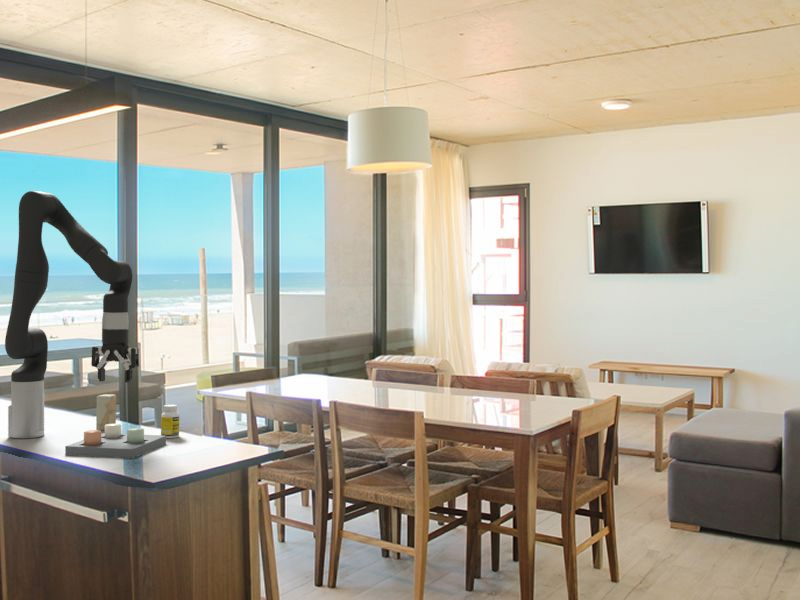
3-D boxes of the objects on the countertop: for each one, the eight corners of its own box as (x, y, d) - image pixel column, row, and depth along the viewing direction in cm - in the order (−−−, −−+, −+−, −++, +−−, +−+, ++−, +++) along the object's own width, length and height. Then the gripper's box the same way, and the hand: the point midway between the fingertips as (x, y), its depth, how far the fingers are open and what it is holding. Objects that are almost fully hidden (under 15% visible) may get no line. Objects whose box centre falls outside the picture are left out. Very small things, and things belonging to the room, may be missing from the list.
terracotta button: (80, 447, 224) (80, 432, 224) (89, 443, 228) (89, 429, 228) (95, 447, 223) (95, 433, 223) (104, 444, 227) (104, 430, 227)
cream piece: (101, 439, 235) (101, 426, 234) (109, 436, 239) (109, 423, 239) (116, 440, 234) (116, 426, 234) (124, 437, 238) (124, 423, 238)
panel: (65, 454, 222) (65, 446, 222) (103, 440, 242) (103, 432, 242) (132, 458, 219) (132, 449, 219) (166, 443, 239) (166, 435, 238)
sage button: (123, 444, 227) (123, 430, 227) (131, 441, 232) (132, 427, 232) (139, 445, 227) (139, 431, 227) (146, 442, 231) (146, 428, 231)
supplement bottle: (174, 439, 246) (174, 407, 246) (157, 438, 247) (157, 406, 247) (182, 435, 251) (182, 404, 251) (166, 435, 252) (166, 403, 252)
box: (108, 430, 258) (108, 396, 258) (95, 430, 259) (95, 396, 259) (116, 428, 263) (116, 394, 263) (104, 427, 264) (104, 393, 264)
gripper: (86, 327, 238) (86, 382, 239) (131, 328, 236) (131, 384, 236) (99, 326, 246) (99, 379, 246) (143, 327, 243) (143, 381, 244)
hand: (115, 381), depth 241 cm, fingers open, 8 cm apart
